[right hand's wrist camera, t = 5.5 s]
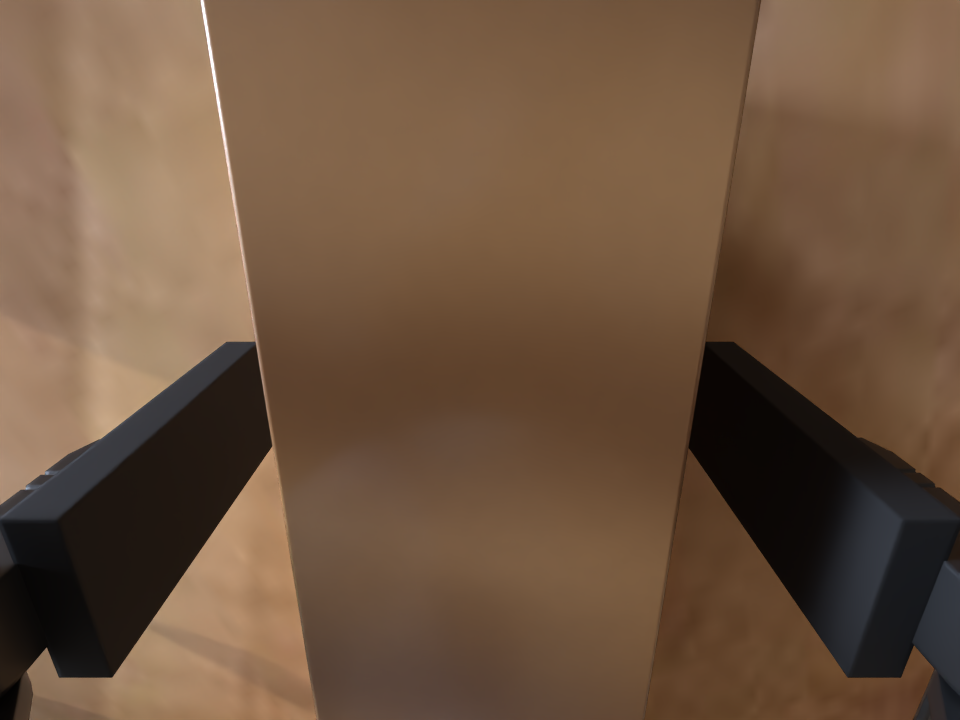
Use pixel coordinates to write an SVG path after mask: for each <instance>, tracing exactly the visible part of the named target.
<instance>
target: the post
mask: <svg viewBox="0 0 960 720" xmlns="http://www.w3.org/2000/svg"><path fill="white" fill-rule="evenodd" d="M760 3H761V0H201V7H202V13H203V19H204V25H205V31H206V38H207V44H208V50H209V56H210V62H211V69H212V75H213V81H214V87H215V93H216V99H217V106H218V112H219V118H220V124H221V130H222V137H223V143H224V149H225V155H226V161H227V168H228V174H229V180H230V186H231V192H232V199H233V205H234V211H235V217H236V223H237V229H238V236H239V242H240V248H241V254H242V260H243V267H244V273H245V279H246V285H247V291H248V298H249V304H250V310H251V316H252V322H253V329H254V335H255V341H256V347H257V353H258V359H259V366H260V372H261V378H262V384H263V390H264V397H265V403H266V409H267V415H268V421H269V428H270V434H271V440H272V446H273V452H274V459H275V465H276V471H277V477H278V483H279V489H280V496H281V502H282V508H283V514H284V520H285V527H286V533H287V539H288V545H289V551H290V558H291V564H292V570H293V576H294V582H295V589H296V595H297V601H298V607H299V613H300V619H301V626H302V632H303V638H304V644H305V650H306V657H307V663H308V669H309V675H310V681H311V688H312V694H313V700H314V706H315V712H316V718H317V720H644V718H645V712H646V706H647V699H648V693H649V687H650V681H651V675H652V669H653V662H654V656H655V650H656V644H657V638H658V632H659V625H660V619H661V613H662V607H663V601H664V595H665V589H666V582H667V576H668V570H669V564H670V558H671V552H672V545H673V539H674V533H675V527H676V521H677V515H678V508H679V502H680V496H681V490H682V484H683V478H684V472H685V465H686V459H687V453H688V447H689V441H690V435H691V428H692V422H693V416H694V410H695V404H696V398H697V391H698V385H699V379H700V373H701V367H702V361H703V355H704V348H705V342H706V336H707V330H708V324H709V318H710V311H711V305H712V299H713V293H714V287H715V281H716V274H717V268H718V262H719V256H720V250H721V244H722V237H723V231H724V225H725V219H726V213H727V207H728V201H729V194H730V188H731V182H732V176H733V170H734V164H735V157H736V151H737V145H738V139H739V133H740V127H741V120H742V114H743V108H744V102H745V96H746V90H747V84H748V77H749V71H750V65H751V59H752V53H753V47H754V40H755V34H756V28H757V22H758V16H759V10H760Z"/></svg>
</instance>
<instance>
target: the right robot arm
mask: <svg viewBox="0 0 960 720" xmlns="http://www.w3.org/2000/svg"><path fill="white" fill-rule="evenodd" d="M271 447H272V440H271V434H270V428H269V421H268V415H267V409H266V403H265V397H264V390H263V384H262V378H261V372H260V366H259V359H258V353H257V347H256V342H226V343H225V344H223V345H222V346H221V347H219V348H218V349H217V350H215V351H214V352H213V353H212V354H210V355H209V356H208V357H206V358H205V359H204V360H203V361H201V362H200V363H199V364H197V365H196V366H195V367H194V368H192V369H191V370H190V371H188V372H187V373H186V374H184V375H183V376H182V377H181V378H179V379H178V380H177V381H175V382H174V383H173V384H172V385H170V386H169V387H168V388H166V389H165V390H164V391H162V392H161V393H160V394H159V395H157V396H156V397H155V398H153V399H152V400H151V401H150V402H148V403H147V404H146V405H144V406H143V407H142V408H141V409H139V410H138V411H137V412H135V413H134V414H133V415H131V416H130V417H129V418H128V419H126V420H125V421H124V422H122V423H121V424H120V425H119V426H117V427H116V428H115V429H113V430H112V431H111V432H110V433H108V434H107V435H106V436H104V437H103V438H102V439H100V440H97V441H95V442H93V443H91V444H89V445H87V446H84V447H82V448H80V449H78V450H76V451H74V452H72V453H70V454H68V455H67V456H65V457H64V458H63V459H61V460H60V461H59V462H57V463H56V464H55V465H53V466H52V467H51V468H49V469H48V470H47V471H45V475H40V476H39V477H37V478H36V479H35V480H33V481H32V482H31V483H29V484H28V485H27V486H26V489H25V490H20V491H19V492H17V493H16V494H15V495H13V496H12V497H11V498H9V499H8V500H7V501H5V502H4V503H3V504H1V505H0V720H29V716H30V710H31V704H32V698H33V691H32V685H31V681H30V679H29V676H28V674H27V672H26V671H27V670H28V668H29V667H30V666H31V665H32V664H33V663H34V661H35V660H36V659H37V658H38V657H39V656H40V654H41V653H42V652H43V651H44V650H45V649H46V648H47V649H48V651H49V654H50V656H51V659H52V661H53V664H54V666H55V669H56V671H57V674H58V676H59V678H112V677H113V676H114V674H115V673H116V671H117V670H118V669H119V667H120V666H121V664H122V663H123V661H124V660H125V658H126V657H127V656H128V654H129V653H130V651H131V650H132V648H133V647H134V645H135V644H136V643H137V641H138V640H139V638H140V637H141V635H142V634H143V632H144V631H145V630H146V628H147V627H148V625H149V624H150V622H151V621H152V619H153V618H154V616H155V615H156V614H157V612H158V611H159V609H160V608H161V606H162V605H163V603H164V602H165V601H166V599H167V598H168V596H169V595H170V593H171V592H172V590H173V589H174V588H175V586H176V585H177V583H178V582H179V580H180V579H181V577H182V576H183V575H184V573H185V572H186V570H187V569H188V567H189V566H190V564H191V563H192V562H193V560H194V559H195V557H196V556H197V554H198V553H199V551H200V550H201V549H202V547H203V546H204V544H205V543H206V541H207V540H208V538H209V537H210V536H211V534H212V533H213V531H214V530H215V528H216V527H217V525H218V524H219V522H220V521H221V520H222V518H223V517H224V515H225V514H226V512H227V511H228V509H229V508H230V507H231V505H232V504H233V502H234V501H235V499H236V498H237V496H238V495H239V494H240V492H241V491H242V489H243V488H244V486H245V485H246V483H247V482H248V481H249V479H250V478H251V476H252V475H253V473H254V472H255V470H256V469H257V468H258V466H259V465H260V463H261V462H262V460H263V459H264V457H265V456H266V455H267V453H268V452H269V450H270V449H271ZM689 449H690V450H691V452H692V453H693V455H694V456H695V457H696V459H697V460H698V462H699V463H700V465H701V466H702V468H703V469H704V470H705V472H706V473H707V475H708V476H709V478H710V479H711V481H712V482H713V483H714V485H715V486H716V488H717V489H718V491H719V492H720V494H721V495H722V496H723V498H724V499H725V501H726V502H727V504H728V505H729V507H730V508H731V509H732V511H733V512H734V514H735V515H736V517H737V518H738V520H739V521H740V522H741V524H742V525H743V527H744V528H745V530H746V531H747V533H748V534H749V535H750V537H751V538H752V540H753V541H754V543H755V544H756V546H757V547H758V549H759V550H760V551H761V553H762V554H763V556H764V557H765V559H766V560H767V562H768V563H769V564H770V566H771V567H772V569H773V570H774V572H775V573H776V575H777V576H778V577H779V579H780V580H781V582H782V583H783V585H784V586H785V588H786V589H787V590H788V592H789V593H790V595H791V596H792V598H793V599H794V601H795V602H796V603H797V605H798V606H799V608H800V609H801V611H802V612H803V614H804V615H805V616H806V618H807V619H808V621H809V622H810V624H811V625H812V627H813V628H814V629H815V631H816V632H817V634H818V635H819V637H820V638H821V640H822V641H823V643H824V644H825V645H826V647H827V648H828V650H829V651H830V653H831V654H832V656H833V657H834V658H835V660H836V661H837V663H838V664H839V666H840V667H841V669H842V670H843V671H844V673H845V674H846V676H847V677H848V678H901V676H902V674H903V671H904V669H905V666H906V664H907V661H908V659H909V656H910V654H911V651H912V649H913V646H915V647H916V648H917V649H918V650H919V651H920V652H921V654H922V655H923V656H924V657H925V658H926V659H927V660H928V662H929V663H930V664H931V665H932V666H933V667H934V672H933V674H932V676H931V679H930V681H929V683H928V686H927V688H926V690H925V693H924V695H923V697H922V700H921V702H920V704H919V707H918V709H917V712H916V714H915V716H914V719H913V720H960V502H959V501H957V500H956V499H955V498H953V497H952V496H951V495H949V494H948V493H947V492H945V491H944V490H943V489H941V488H936V487H935V484H934V483H933V482H932V481H930V480H929V479H928V478H926V477H925V476H924V475H922V474H921V473H916V472H915V469H914V468H913V467H912V466H910V465H909V464H908V463H906V462H905V461H904V460H902V459H901V458H899V457H898V456H897V455H895V454H894V453H893V452H891V451H889V450H887V449H885V448H882V447H880V446H878V445H876V444H874V443H872V442H870V441H868V440H866V439H863V438H857V437H856V436H854V435H853V434H852V433H850V432H849V431H848V430H847V429H845V428H844V427H843V426H841V425H840V424H839V423H838V422H836V421H835V420H834V419H832V418H831V417H830V416H829V415H827V414H826V413H825V412H823V411H822V410H821V409H819V408H818V407H817V406H816V405H814V404H813V403H812V402H810V401H809V400H808V399H807V398H805V397H804V396H803V395H801V394H800V393H799V392H798V391H796V390H795V389H794V388H792V387H791V386H790V385H788V384H787V383H786V382H785V381H783V380H782V379H781V378H779V377H778V376H777V375H776V374H774V373H773V372H772V371H770V370H769V369H768V368H767V367H765V366H764V365H763V364H761V363H760V362H759V361H757V360H756V359H755V358H754V357H752V356H751V355H750V354H748V353H747V352H746V351H745V350H743V349H742V348H741V347H739V346H738V345H737V344H735V343H734V342H705V348H704V355H703V361H702V367H701V373H700V379H699V385H698V391H697V398H696V404H695V410H694V416H693V422H692V428H691V435H690V441H689Z"/></svg>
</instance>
